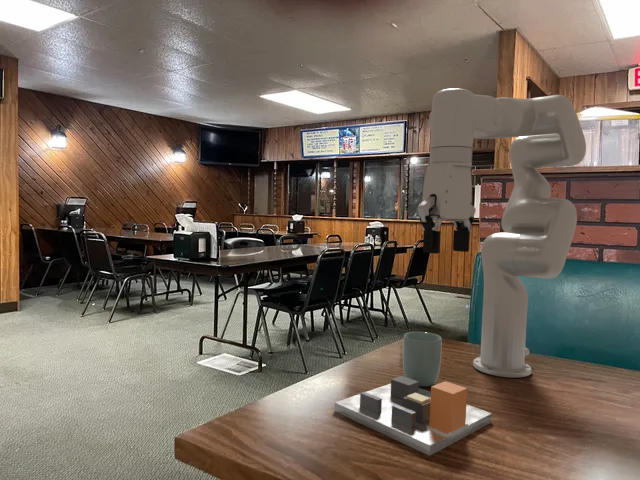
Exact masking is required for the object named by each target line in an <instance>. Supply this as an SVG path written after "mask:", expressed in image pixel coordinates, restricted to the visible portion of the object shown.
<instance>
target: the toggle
mask: <svg viewBox="0 0 640 480" xmlns="http://www.w3.org/2000/svg"><path fill="white" fill-rule="evenodd" d="M390 379H391V380H390V384H391V395H392V396H394V397H397V398H399V399H402V400H403V398H404V397H406V396H408V395H410V394H413V393H418V391H419V388H420V386H419V382H418V381H415V380H412V379H409V378H406V377H405V376H403V375H400V376H397V377H394V378H390Z"/></svg>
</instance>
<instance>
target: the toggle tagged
mask: <svg viewBox="0 0 640 480" xmlns="http://www.w3.org/2000/svg"><path fill="white" fill-rule="evenodd" d="M430 401H431V400H430V398H429V397H426V396H423V395H421V394H418V393H413V394H410V395H408V396H406V397H404V398H403V407H404V408H407V409H409V410H412V411H414V412H416V421H417V422H419V423H422V424H423V423H425V422H427V421H429V420H430Z"/></svg>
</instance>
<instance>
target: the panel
mask: <svg viewBox="0 0 640 480" xmlns="http://www.w3.org/2000/svg"><path fill="white" fill-rule="evenodd" d="M418 394H421V395H423V396H426V397H429V398H430V400H431V390H430V391H429V390H426V389H423V388H421V387H419V391H418ZM334 412H335V413H338V414H339V415H342V416H343V417H346V418H347V419H350V420H352V421H355V422H357V423H358V424H361V425H362V426H364V427H367V428H369V429H371V430H374V431H375V432H378V433H380V434H382V435H384V436H386V437H389V438H391V439H393V440H394V441H397V442H399V443H401V444H403V445H405V446H408V447H410V448H411V449H413V450H416V451H418V452H420V453H423V454H424V455H427V456H432V455H434V454H435V453H438V452H439V451H442V450H443V449H445V448H447V447H449V446H451V445H453V444H455V443H456V442H458V441H460V440H462V439H463V438H465V437H467V436H469V435H471V434H473V433H474V432H476V431H478V430H480V429H482V428H483V427H486V426H488V425H489V424H491V423H492V422H493V421H492V419H493V417H492V416H493V413H492V412H489V411H486V410H484V409H481V408H478V407H476V406H472V405H469V404H466V425H465V426H463V427H461V428H459V429H457V430H455V431H453V432H449V431H447V430H444V429H442V428H439V427H437V426H434V425H432V424H430V420H429V421H427V422H425V423H423V424H422V423H419V422H417V421H416V412H414V411H412V410H409V409H407V408H404V407H403V400H402V399H399V398H397V397H394V396H392V395H391V383H388V384H386V385H383V386H379V387H376V388H373V389H370V390H368V391H363V392H360V393H358V394H355V395H353V396H352V395H351V396H350V397H346V398H344V399H340V400H338V401H334Z"/></svg>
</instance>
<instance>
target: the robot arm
mask: <svg viewBox="0 0 640 480" xmlns="http://www.w3.org/2000/svg"><path fill="white" fill-rule="evenodd" d="M431 103H432V104H431V111H430V113H429V116H428V127H429V130H430V141H429V142H430V149H429V165H427V168H426V172H425V173H426V174H425V177H424V183H423V190H422V198H421V203H419V204H418V205H417V211H418V215H419V222H420V224H421V229H422V231H423V237H422V238H423V239H422V240H423V241H422V252H423V253H426V254H435V255H436V254H440V250H441V249H440V248H441V230H439V229H440V227H441V225H442V223H443V221H446V222H447V221H449V222H450V221H451V222H453V225H454V227H455V230H454V229H453V235H452V237H453V238H452V239H453V240H452V251H453V252H463V253H468V252H469V251H470V238H471V237H470V236H471V231H472V228H473V226H472V225H473V223H474V221H475V220H474V217H475V214H476V211H477V210H476V207H475V206H474V205H473V185H472V183H473V182H472V167H473V149H474V148H473V146H474V143H473V142H474V139H483V140H486V139H487V140H493V139H509V138H515V139H513V140H512V142H511V143H510V147H509V161H510V167H511V172H512V177H513V182H514V184H513V188H512V192H511V194H510V197H509V198H508V201H507V204H506V206H505V209H504V210H503V214H502V217H501V229H502V230H503V232H495V233H492V234H490V235H488V236H487V237H485V239H484V240H483V242H482V244H481V249H480V255H481V263H482V270H483V272H482V273H483V301H482V319H481V335H480V336H481V340H480V341H481V342H480V356H478V357H475V358H474V359H473V360H472V361H473V362H472V366H473V367H474V369H476V370H478V371H480V372H481V373H484V374H487V375H491V376H495V377H501V378H512V379H513V378H514V379H515V378H517V379H518V378H526V377H528V376H530V375H531V374H532V367H531V366H530V365H529V364H528V363H526V362H525V359H526V358H525V357H526V356H529V354H530V349H529V348H528V347H526V342H527V341H526V340H527V339H526V337H527V323H528V322H527V321H528V319H527V318H528V304H529V303H528V302H529V298H528V297H529V296H528V292H527V289H526V287H525V285H524V283H523V282H522V280H521V279H520V277H527V278H535V279H536V278H537V279H554V278H556V277H558V276H559V275H560V274H561V273H562V271H563V269H564V266H565V263H566V262H567V261H566V260H567V257H568V254H569V251H570V249H571V245H572V243H573V239H574V236H575V232H576V228H577V223H578V214H577V209H576V206H575V204H574V203H573V202H572V201H570V200H569V199H566V198H561V197H560V198H559V197H551V195H552V187H551V185H550V183H549V182H548V180H547V179H546V177H545V176H544V175H542V174H541V172H539V171H538V168H560V167H561V168H562V167H563V168H564V167H573V166H576V165H578V164H580V163H581V162H582V161H583V160H584V159H585V155H586V153H587V152H586V151H587V144H586V143H587V142H586V137H585V135H584V131H583V129H582V125H581V123H580V119H579V117H578V114H577V112H576V109H575V107H574V105H573V104H572V102H571V100H569V98H568V97H567V96H565V95H563V94H553V95H548V96H538V97H532V98H531V97H530V98H519V97H518V98H516V97H494V96H492V95H486V94H485V95H484V94H476V93H473V92H472V91H471V90H468V89H465V88H459V87H457V88H453V87H452V88H446V89H442V90H439V91H437V92H436V93H435V94H434V95H433V98H432V102H431Z"/></svg>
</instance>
